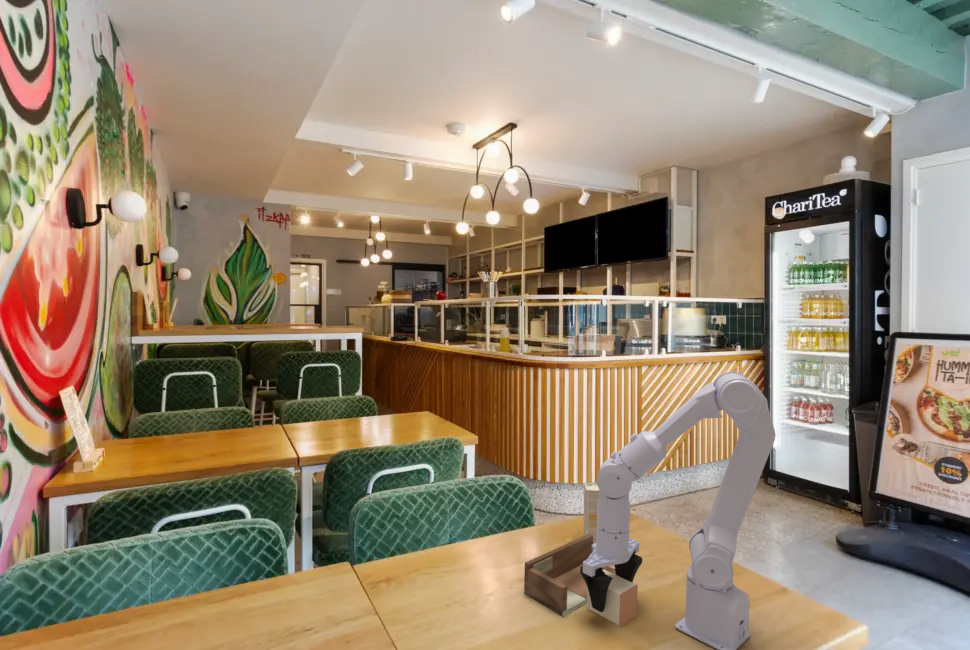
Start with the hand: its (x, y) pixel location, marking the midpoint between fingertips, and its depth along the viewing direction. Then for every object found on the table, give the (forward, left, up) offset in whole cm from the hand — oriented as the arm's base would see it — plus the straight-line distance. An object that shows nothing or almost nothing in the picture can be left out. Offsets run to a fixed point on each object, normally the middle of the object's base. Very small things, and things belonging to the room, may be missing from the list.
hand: (610, 601), depth 94 cm
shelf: (+9, -1, -2) cm, 9 cm away
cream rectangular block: (0, 0, -2) cm, 2 cm away
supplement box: (+18, -22, -2) cm, 28 cm away
